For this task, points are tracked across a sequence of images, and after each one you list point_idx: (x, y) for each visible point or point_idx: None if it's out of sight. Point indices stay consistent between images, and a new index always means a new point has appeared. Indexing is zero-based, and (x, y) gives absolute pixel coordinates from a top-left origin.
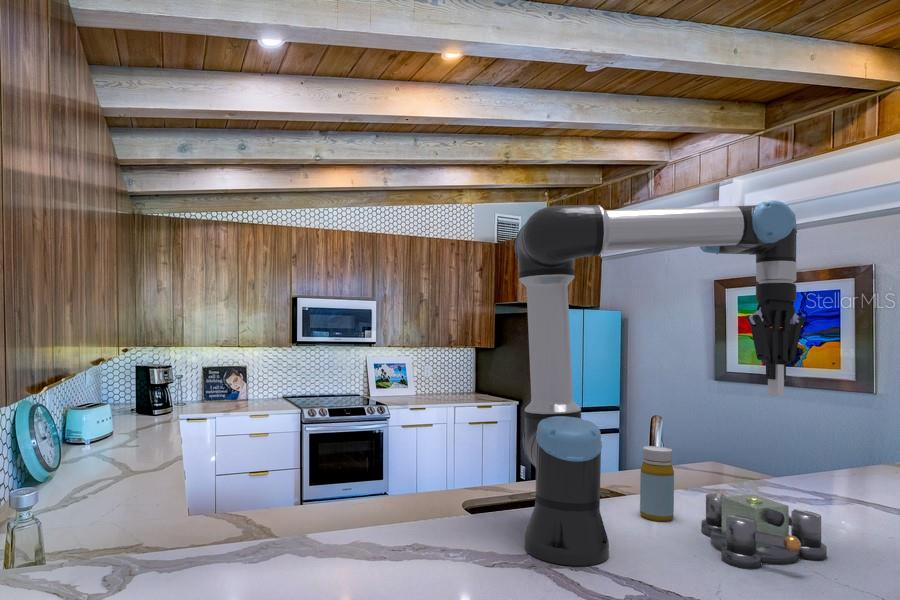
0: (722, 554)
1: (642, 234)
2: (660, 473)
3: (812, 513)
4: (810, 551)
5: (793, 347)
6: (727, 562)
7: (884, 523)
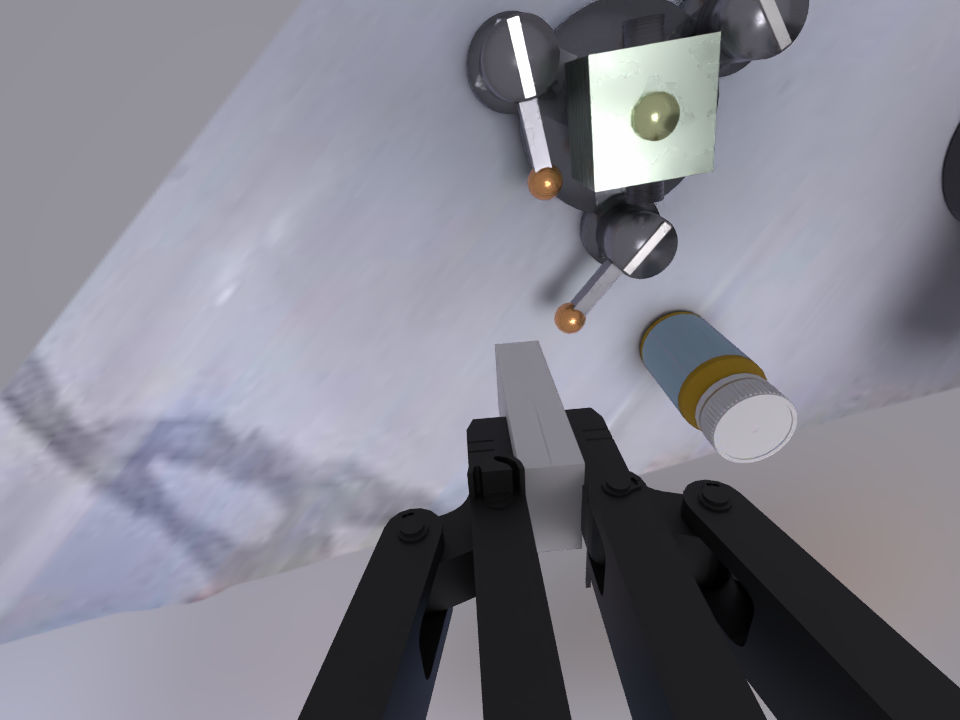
0: None
1: None
2: (747, 359)
3: (496, 63)
4: None
5: (389, 640)
6: None
7: (113, 278)
